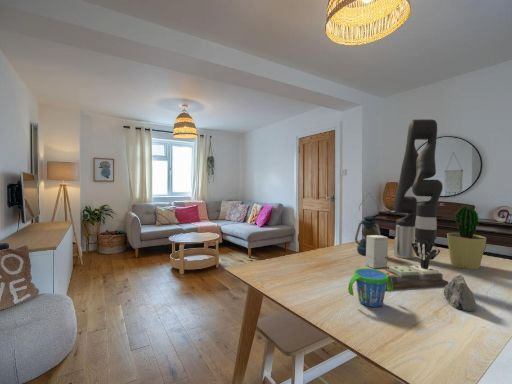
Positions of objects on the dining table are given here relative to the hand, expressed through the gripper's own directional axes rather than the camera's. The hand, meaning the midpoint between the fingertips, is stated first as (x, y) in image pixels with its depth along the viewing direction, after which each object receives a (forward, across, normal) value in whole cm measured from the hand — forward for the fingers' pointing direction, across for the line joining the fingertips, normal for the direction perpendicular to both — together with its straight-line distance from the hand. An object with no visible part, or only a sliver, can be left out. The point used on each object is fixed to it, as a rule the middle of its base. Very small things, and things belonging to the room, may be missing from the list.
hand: (424, 268), depth 110 cm
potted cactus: (+5, +14, -36) cm, 39 cm away
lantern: (+5, +40, 0) cm, 41 cm away
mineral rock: (+5, -20, +5) cm, 21 cm away
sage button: (+2, 0, +10) cm, 10 cm away
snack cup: (+5, -16, +35) cm, 39 cm away
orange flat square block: (+3, 0, +20) cm, 20 cm away
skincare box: (+5, +19, +9) cm, 22 cm away
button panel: (+5, 0, +10) cm, 11 cm away
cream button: (+2, 0, 0) cm, 2 cm away
